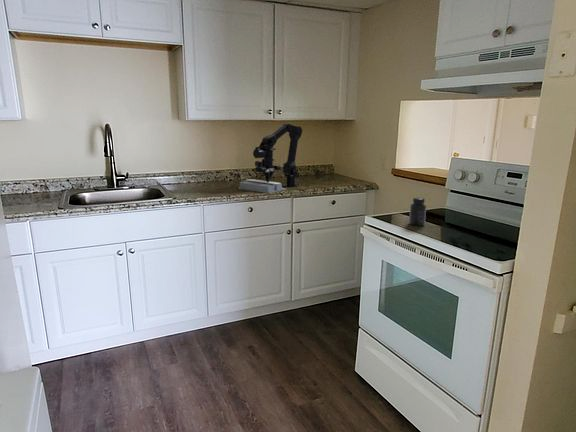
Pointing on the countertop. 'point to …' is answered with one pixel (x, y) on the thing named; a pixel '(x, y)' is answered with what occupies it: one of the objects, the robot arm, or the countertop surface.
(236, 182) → the countertop surface
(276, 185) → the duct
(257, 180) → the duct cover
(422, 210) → the supplement bottle
